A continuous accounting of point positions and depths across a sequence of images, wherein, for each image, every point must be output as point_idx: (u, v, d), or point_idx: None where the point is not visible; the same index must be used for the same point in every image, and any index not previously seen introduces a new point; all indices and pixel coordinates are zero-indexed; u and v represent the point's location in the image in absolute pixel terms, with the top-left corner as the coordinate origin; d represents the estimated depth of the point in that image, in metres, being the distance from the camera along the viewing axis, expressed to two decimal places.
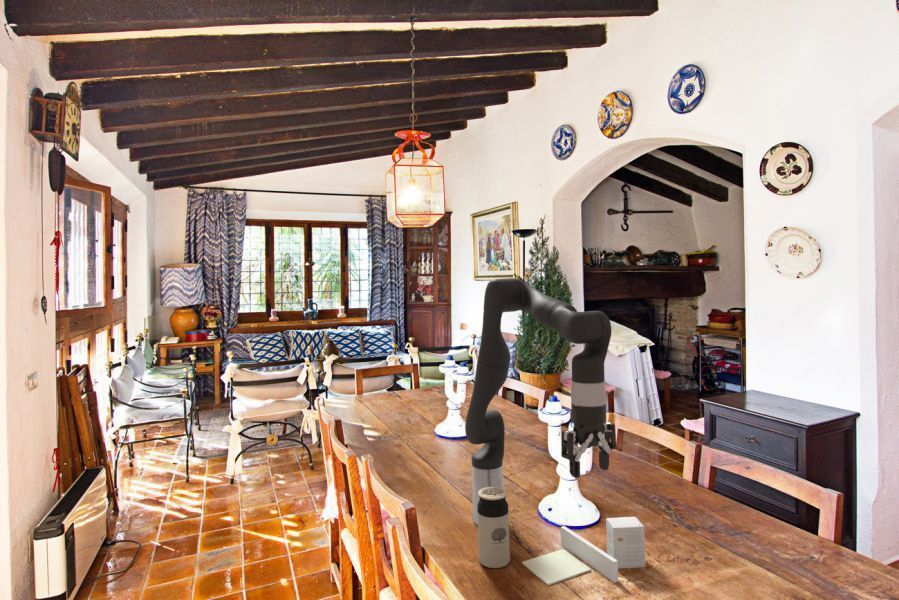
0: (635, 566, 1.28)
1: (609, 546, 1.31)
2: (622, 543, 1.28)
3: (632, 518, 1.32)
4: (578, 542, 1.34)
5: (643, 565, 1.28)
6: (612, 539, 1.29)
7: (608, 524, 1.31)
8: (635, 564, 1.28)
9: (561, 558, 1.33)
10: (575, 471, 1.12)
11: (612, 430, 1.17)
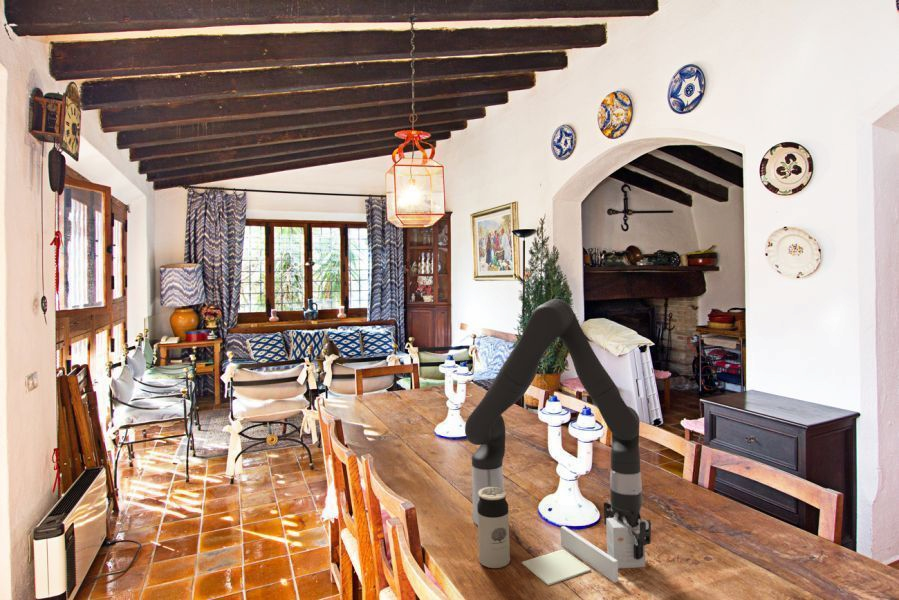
0: (635, 566, 1.28)
1: (610, 546, 1.31)
2: (622, 543, 1.28)
3: None
4: (578, 542, 1.34)
5: (643, 565, 1.28)
6: (612, 539, 1.29)
7: (608, 524, 1.31)
8: (636, 564, 1.28)
9: (561, 558, 1.33)
10: None
11: None
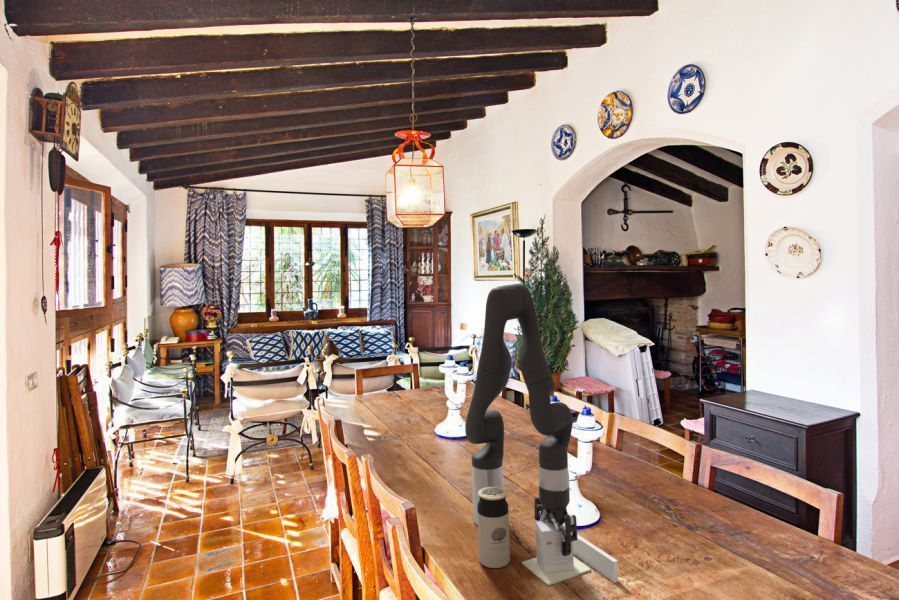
0: (564, 569, 1.27)
1: (539, 550, 1.29)
2: (551, 547, 1.26)
3: None
4: (578, 542, 1.34)
5: (571, 567, 1.27)
6: (541, 543, 1.27)
7: (537, 528, 1.29)
8: (564, 567, 1.27)
9: None
10: None
11: None
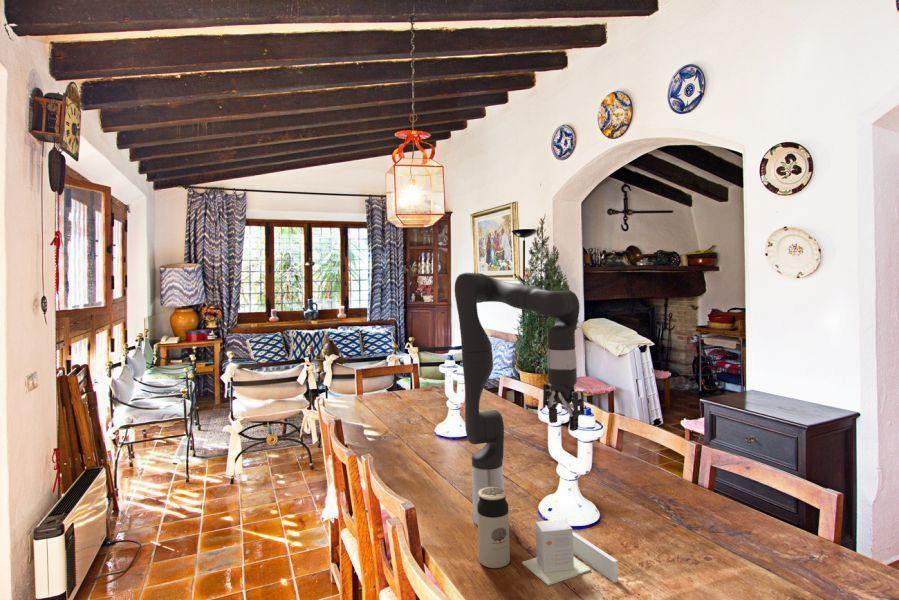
0: (564, 569, 1.27)
1: (539, 550, 1.29)
2: (551, 547, 1.26)
3: (561, 520, 1.31)
4: (578, 542, 1.34)
5: (571, 567, 1.27)
6: (541, 543, 1.27)
7: (537, 528, 1.29)
8: (564, 567, 1.27)
9: None
10: None
11: None
